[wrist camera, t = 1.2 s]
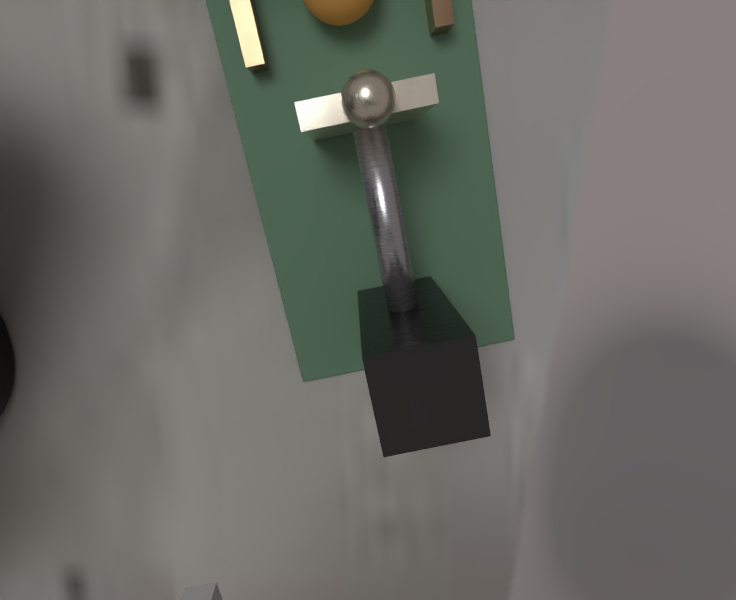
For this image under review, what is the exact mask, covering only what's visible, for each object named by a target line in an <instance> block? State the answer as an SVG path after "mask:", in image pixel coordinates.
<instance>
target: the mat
mask: <svg viewBox="0 0 736 600" xmlns="http://www.w3.org/2000/svg"><path fill="white" fill-rule="evenodd" d="M451 1H452V9H453V16H454V23H455V24H454V25H453V26H452V28H451V29H450V30H449V32H448V33H444V34H440V35H435V36H430V34H429V27H428V21H427V14H426V7H425V1H424V0H373V3H372V5H371V6H370V8H369V9H368V11H367V12H366V13H365V14H364V15H363V16H362V17H361V18H360V19H358V20H357V21H355V22H353V23H351V24H347V25H341V26H336V25H330V24H327V23H324V22H323V21H321V20H319V19H318V18H316V17H315V16H314V15H313V14H312V13H311V12H310V11H309V10H308V9H307V7H306V6H305V4H304V2H303V0H254V3H255V8H256V12H257V16H258V20H259V25H260V29H261V33H262V38H263V42H264V46H265V51H266V55H267V59H268V64H269V68H270V70H269V71H264V72H259V73H255V74H252V73H251V72H250V71H249V70H248V69H247V68H246V66H245V62H244V58H243V54H242V50H241V46H240V42H239V38H238V33H237V29H236V25H235V21H234V17H233V13H232V9H231V5H230V1H229V0H206V3H207V7H208V11H209V15H210V19H211V23H212V26H213V30H214V34H215V38H216V42H217V46H218V50H219V54H220V58H221V62H222V66H223V69H224V73H225V77H226V81H227V85H228V89H229V93H230V97H231V101H232V105H233V109H234V112H235V116H236V120H237V124H238V128H239V132H240V136H241V140H242V144H243V148H244V152H245V156H246V159H247V163H248V167H249V171H250V175H251V179H252V183H253V187H254V191H255V195H256V199H257V202H258V206H259V210H260V214H261V218H262V222H263V226H264V230H265V234H266V238H267V242H268V245H269V249H270V253H271V257H272V261H273V265H274V269H275V273H276V277H277V281H278V285H279V288H280V292H281V296H282V300H283V304H284V308H285V312H286V316H287V320H288V324H289V328H290V332H291V335H292V339H293V343H294V347H295V351H296V355H297V359H298V363H299V367H300V371H301V375H302V378H303V382H304V381H309V380H314V379H319V378H324V377H329V376H334V375H339V374H344V373H349V372H354V371H359V370H364V365H363V360H362V351H361V337H360V323H359V309H358V295H357V291H360V290H365V289H370V288H375V287H379V286H383V284H382V278H381V273H380V268H379V263H378V258H377V253H376V248H375V243H374V238H373V233H372V228H371V223H370V218H369V213H368V208H367V202H366V197H365V192H364V187H363V182H362V177H361V172H360V167H359V162H358V157H357V152H356V147H355V142H354V137H353V133H349V134H344V135H339V136H335V137H330V138H325V139H320V140H315V141H312V140H311V139H310V138H308V137H307V136H306V135H304V134H303V133H302V132H301V130H300V125H299V121H298V116H297V112H296V107H295V103H294V102H299V101H304V100H308V99H313V98H318V97H323V96H327V95H332V94H337V93H341V92H342V88H343V86H344V84H345V82H346V80H347V79H348V78H349V77H350V76H351V75H352V74H354V73H355V72H357V71H359V70H363V69H373V70H377V71H379V72H381V73H383V74H384V75H385V76H386V77H387V78H388V79H389V80H390V81H391V82H394V81H399V80H404V79H409V78H413V77H418V76H423V75H428V74H432V73H435V79H436V86H437V93H438V99H439V104H437V105H436V106H434V107H433V108H432V109H430V110H429V111H427V112H426V113H425V114H423V115H422V116H421V117H419V118H418V119H416V120H411V121H407V122H402V123H397V124H392V125H387V131H388V137H389V142H390V148H391V154H392V159H393V165H394V170H395V176H396V181H397V187H398V193H399V198H400V204H401V209H402V215H403V221H404V226H405V232H406V237H407V243H408V248H409V254H410V260H411V265H412V271H413V276H414V279H419V278H424V277H429V276H431V277H432V278H433V280H434V281H435V282H436V284H437V285H438V286H439V288H440V289H441V290H442V292H443V293H444V294H445V296H446V297H447V298H448V299H449V301H450V302H451V303H452V305H453V306H454V307H455V309H456V310H457V311H458V313H459V314H460V315H461V317H462V318H463V319H464V320H465V322H466V323H467V324H468V326H469V327H470V328H471V330H472V331H473V332H474V334H475V335H476V342H477V347H478V346H483V345H488V344H493V343H498V342H503V341H508V340H513V339H514V332H513V324H512V316H511V308H510V301H509V293H508V285H507V277H506V269H505V261H504V254H503V246H502V238H501V230H500V222H499V214H498V206H497V199H496V191H495V183H494V175H493V167H492V159H491V151H490V144H489V136H488V128H487V120H486V112H485V104H484V97H483V89H482V81H481V73H480V65H479V57H478V49H477V42H476V34H475V26H474V18H473V10H472V2H471V0H451Z"/></svg>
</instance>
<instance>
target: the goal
mask: <svg viewBox="0 0 736 600" xmlns="http://www.w3.org/2000/svg"><path fill="white" fill-rule="evenodd" d="M229 1H230V5H231V9H232V13H233V17H234V21H235V25H236V29H237V33H238V38H239V42H240V46H241V50H242V54H243V58H244V62H245V66H246V68H247V69H248V70H249V71H250V72H251V73H252V74H255V73H259V72H264V71H269V70H270V68H269V64H268V59H267V55H266V51H265V46H264V42H263V38H262V33H261V29H260V25H259V20H258V16H257V12H256V8H255V3H254V0H229ZM424 1H425V7H426V14H427V21H428V27H429V34H430V36H435V35H440V34H444V33H448V32H449V30H450V29H451V28H452V26H453V25H454V24H455V23H454V16H453V9H452V1H451V0H424Z"/></svg>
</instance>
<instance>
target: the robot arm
mask: <svg viewBox="0 0 736 600" xmlns="http://www.w3.org/2000/svg"><path fill="white" fill-rule="evenodd" d="M13 377H14V360H13V352H12V347H11V343H10V339H9V336H8V333H7V330H6V328H5V325H4V323H3V321H2V319H1V317H0V415H1V414H2V412H3V410H4V409H5V406H6V404H7V402H8V399H9V397H10V393H11V389H12V385H13ZM181 600H222V597H221V594H220V591H219V588H218V586H217V583H211V584H206V585H201V586H196V587H191V588H186V589H185V590H184V593H183V595H182V598H181Z"/></svg>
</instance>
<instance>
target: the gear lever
mask: <svg viewBox="0 0 736 600" xmlns="http://www.w3.org/2000/svg"><path fill="white" fill-rule="evenodd" d="M294 103H295V107H296V112H297V116H298V121H299V125H300V130H301V132H302V133H303V134H304V135H306V136H307V137H308V138H310V139H311V140H312V141H315V140H320V139H325V138H330V137H335V136H339V135H344V134H349V133H353V137H354V142H355V147H356V152H357V157H358V162H359V167H360V172H361V177H362V182H363V187H364V192H365V197H366V202H367V208H368V213H369V218H370V223H371V228H372V233H373V238H374V243H375V248H376V253H377V258H378V263H379V268H380V273H381V278H382V284H383V286H379V287H375V288H370V289H365V290H360V291H357V295H358V309H359V323H360V337H361V351H362V360H363V365H364V369H365V374H366V378H367V383H368V388H369V392H370V397H371V401H372V406H373V411H374V415H375V420H376V424H377V429H378V434H379V438H380V443H381V447H382V452H383V457H387V456H392V455H397V454H402V453H407V452H412V451H417V450H422V449H427V448H432V447H438V446H443V445H448V444H453V443H458V442H463V441H468V440H473V439H478V438H483V437H488V436H491V435H490V429H489V422H488V415H487V408H486V402H485V395H484V388H483V382H482V375H481V368H480V362H479V355H478V348H477V342H476V335H475V334H474V332H473V331H472V330H471V328H470V327H469V326H468V324H467V323H466V322H465V320H464V319H463V318H462V317H461V315H460V314H459V313H458V311H457V310H456V309H455V307H454V306H453V305H452V303H451V302H450V301H449V299H448V298H447V297H446V296H445V294H444V293H443V292H442V290H441V289H440V288H439V286H438V285H437V284H436V282H435V281H434V280H433V278H432V277H431V276H429V277H424V278H419V279H414V276H413V271H412V265H411V260H410V254H409V248H408V243H407V237H406V232H405V226H404V221H403V215H402V209H401V204H400V198H399V193H398V187H397V181H396V176H395V170H394V165H393V159H392V154H391V148H390V142H389V137H388V131H387V125H392V124H397V123H402V122H407V121H411V120H416V119H418V118H419V117H421V116H422V115H423V114H425V113H426V112H427V111H429V110H430V109H432V108H433V107H434V106H436V105H437V104H439V99H438V93H437V86H436V79H435V73H432V74H428V75H423V76H418V77H413V78H409V79H404V80H399V81H394V82H391V81H390V80H389V79H388V78H387V77H386V76H385V75H384V74H383V73H381V72H379V71H377V70H373V69H363V70H359V71H357V72H355V73H354V74H352V75H351V76H350V77H349V78H348V79H347V80H346V82H345V84H344V86H343V88H342V92H341V93H337V94H332V95H327V96H323V97H318V98H313V99H308V100H304V101H299V102H294Z"/></svg>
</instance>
